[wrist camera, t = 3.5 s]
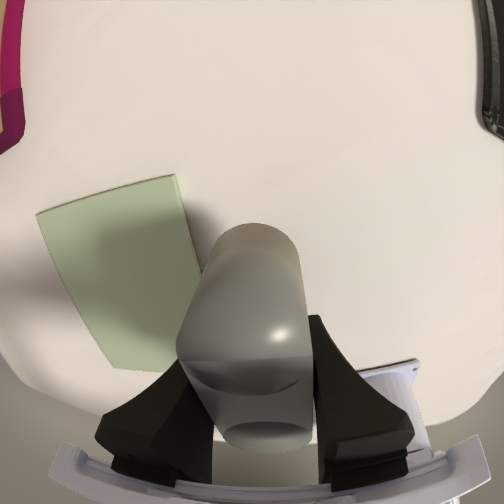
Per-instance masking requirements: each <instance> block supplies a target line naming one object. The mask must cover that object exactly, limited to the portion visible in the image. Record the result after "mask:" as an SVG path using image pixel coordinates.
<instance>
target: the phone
mask: <svg viewBox="0 0 504 504" xmlns="http://www.w3.org/2000/svg"><path fill="white" fill-rule="evenodd" d="M478 4H479V10H480V18H481V26H482V36H483V52H484V90H483V106H482V116H483V121H484V123H485V126H486V127H487V129H488V130H489V131H491V132H492V133H494V134H495V135H497V136H499V137H500V138H502V139H504V0H478Z"/></svg>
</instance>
